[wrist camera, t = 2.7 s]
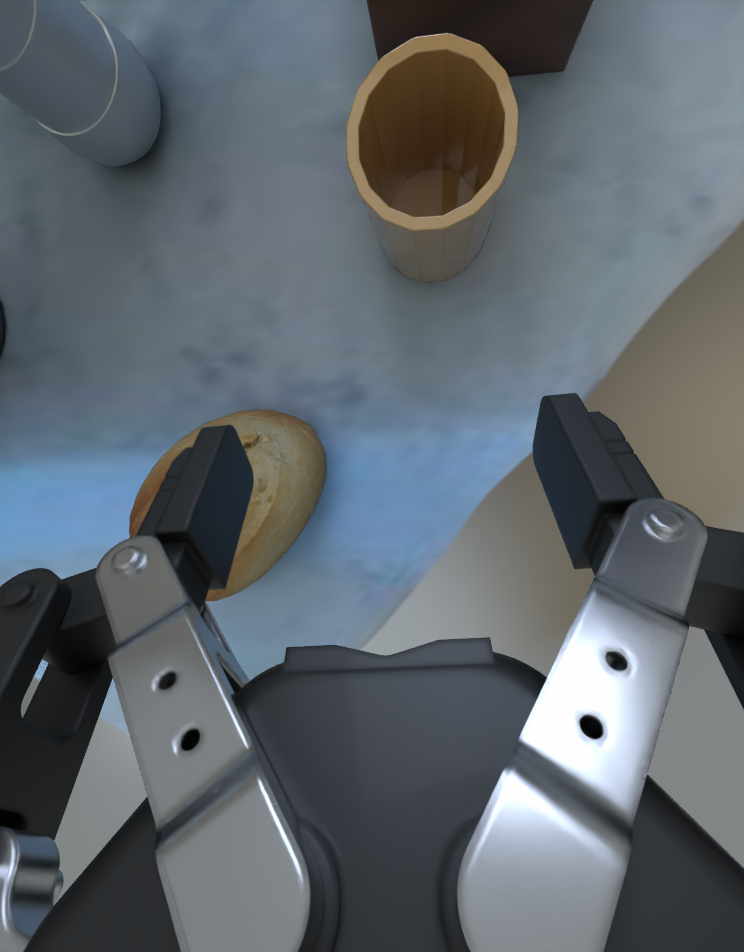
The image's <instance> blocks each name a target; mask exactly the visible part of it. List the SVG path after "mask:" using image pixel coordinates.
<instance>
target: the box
mask: <svg viewBox="0 0 744 952" xmlns="http://www.w3.org/2000/svg"><path fill="white" fill-rule="evenodd" d="M592 2H593V0H367V4H368V10H369V15H370V20H371V26H372V31H373V36H374V41H375V47H376V52H377V57H378V61H379V60H380V59H381V58H382V57H383V56H384V55H386V54H388V53H389V52H391V51H392V50H394V49H396V48H397V47H399V46H401V45H402V44H404V43H405V42H407V41H409V40H410V39H412V38H413V39H414V37H420V36H428V35H436V34H444V33H449V34H453V35H456V36H458V37H461V38H464V39H467V40H469V41H472V42H475V43H477V44H480V45H481V47H482V46H483V47H484V48H485V49H486V50H487V51H488V52H489V53H490V54H491V56H492V57H493V58H494V59H495V60H496V61H497V62H498V63H499V64H500V65H501V66H502V68H503V69H504V70H505V71H506V73H507V74H508V76H517V75H526V74H535V73H545V72H554V71H563V70H564V69H565V67H566V65H567V62H568V60H569V57H570V55H571V53H572V50H573V48H574V45H575V43H576V40H577V38H578V36H579V33H580V31H581V28H582V26H583V24H584V21H585V19H586V16H587V14H588V12H589V9H590V7H591V4H592Z"/></svg>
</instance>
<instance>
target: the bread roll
mask: <svg viewBox="0 0 744 952" xmlns="http://www.w3.org/2000/svg"><path fill="white" fill-rule="evenodd" d="M221 425H232V426H234V428H235V429H236V431H237V433H238V436H239V438H240V440H241V443H242V445H243V447H244V450H245V452H246V454H247V457H248V459H249V461H250V464H251V466H252V470H253V475H254V485H253V490H252V494H251V498H250V501H249V505H248V509H247V512H246V516H245V520H244V523H243V527H242V531H241V534H240V538H239V542H238V545H237V549H236V552H235V556H234V560H233V563H232V567H231V571H230V574H229V578H228V582H227V585H226V589H217V590H208V594H207V597H206V600H205V602H206V601H217V600H220V599H223V598H226V597H229V596H231V595H234V594H236V593H238V592H240V591H242V590H243V589H245V588H246V587H248V586H249V585H251V584H253V583H254V582H255V581H257V580H258V579H260V578H261V577H262V576H263V575H264V574H265V573H266V572H267V571H269V570H270V569H271V568H272V567H273V566H274V564H275V563H276V562H277V561H278V560H279V559H280V558H281V557H282V556H283V555H284V553H285V552H286V551H287V550H288V549H289V548H290V546H291V545H292V544H293V543H294V541H295V540H296V539H297V537H298V536H299V535H300V533H301V532H302V530H303V528H304V527H305V525H306V524H307V522H308V520H309V519H310V517H311V515H312V513H313V511H314V509H315V507H316V505H317V503H318V500H319V498H320V495H321V492H322V488H323V485H324V479H325V475H326V460H325V458H326V454H325V452H324V449H323V446H322V444H321V442H320V440H319V438H318V436H317V434H316V433H315V431H314V430H313V429H312V427H311V426H310V425H309V424H307V423H305V422H304V421H302V420H300V419H298V418H296V417H294V416H291V415H288V414H284V413H280V412H276V411H273V410H246V411H239V412H236V413H233V414H231V415H228V416H225V417H222V418H218V419H216V420H213V421H211V422H207V423H205V424H203V425H202V426H200V427H199V428H197V429H195V430H194V431H192V432H190V433H189V434H187V435H186V436H185V437H183V438H182V439H181V440H179V441H178V442H177V443H176V444H175V445H173V446H172V447H171V448H170V449H169V450H168V451H167V452H166V453H165V454H164V455H163V456H162V457H161V458H160V460H159V461H158V462H157V463H156V464H155V466H154V467H153V468H152V470H151V471H150V473H149V474H148V476H147V477H146V479H145V481H144V482H143V484H142V486H141V488H140V490H139V492H138V494H137V496H136V499H135V502H134V506H133V509H132V511H131V514H130V527H129V534H130V538H132V537H135V536H136V534H137V532H138V530H139V528H140V526H141V524H142V522H143V520H144V518H145V516H146V514H147V512H148V510H149V508H150V506H151V504H152V502H153V499H154V497H155V495H156V493H157V492H159V487H160V485H161V483H162V481H163V479H165V475H166V473H167V471H168V469H169V467H170V465H171V462H172V461H173V460H174V459H175V458H176V457H177V456H178V455H179V454H180V453H181V452H182V451H183V450H184V449H185V448H187V447H193V445H194V442H195V440H196V438H197V436H198V434H199V431H200V430H201V428H203V427H210V426H221Z"/></svg>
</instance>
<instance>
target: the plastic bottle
mask: <svg viewBox="0 0 744 952" xmlns="http://www.w3.org/2000/svg"><path fill="white" fill-rule="evenodd" d="M0 94H2V95H3V96H4V97H6V98H7V99H8V100H10V101H11V102H12V103H14V104H15V105H16V106H18V107H19V108H21V109H22V110H23V111H25V112H26V113H27V114H29V115H30V116H31V117H33V118H34V119H35V120H36V121H37V122H38V123H39V124H40V125H41V126H42V127H43V128H44V129H45V130H47V131H48V132H49V133H50V134H51V135H52V136H53V137H54V138H56V139H57V140H58V141H59V142H61V143H62V144H63V145H64V146H66V147H67V148H68V149H69V150H71V151H72V152H74V153H75V154H77V155H79V156H81V157H83V158H86V159H89V160H91V161H94V162H97V163H100V164H103V165H106V166H115V167H117V166H123V165H127V164H129V163H132V162H134V161H136V160H138V159H140V158H141V157H142V156H144V155H145V154H146V153H147V152H148V151H149V150H150V148H151V147H152V145H153V143H154V142H155V140H156V137H157V134H158V132H159V127H160V122H161V107H160V98H159V91H158V88H157V85H156V81H155V79H154V77H153V75H152V73H151V71H150V69H149V68H148V66H147V65H146V63H145V62H144V60H143V59H142V57H141V55H140V54H139V52H138V51H137V50H136V48H135V47H134V46H133V44H132V43H131V41H130V40H129V39H127V38H126V37H125V36H124V35H123V34H122V33H121V32H120V31H118V30H117V29H116V28H115V27H114V26H112V25H111V24H110V23H109V22H107V21H106V20H105V19H104V18H103V17H101V16H100V15H98V14H97V13H95V12H94V11H92V10H91V9H89V8H87V7H85V6H84V5H82V4H81V3H80V2H79V1H78V0H0Z"/></svg>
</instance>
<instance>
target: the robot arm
mask: <svg viewBox="0 0 744 952" xmlns="http://www.w3.org/2000/svg"><path fill="white" fill-rule="evenodd" d="M2 339H3V318H2V312H1V308H0V348H1V344H2ZM533 459H534V464H535V467H536V470H537V472H538V475H539V478H540V480H541V483H542V485H543V488H544V491H545V493H546V496H547V498H548V501H549V504H550V506H551V509H552V511H553V514H554V517H555V519H556V522H557V524H558V527H559V530H560V532H561V535H562V538H563V540H564V543H565V545H566V548H567V551H568V553H569V556H570V558H571V561H572V564H573V566H574V569H583V568H592V570H593V573H594V575H595V578H594V579H593V581H592V583H591V586H590V588H589V590H588V592H587V594H586V596H585V598H584V601H583V603H582V605H581V607H580V609H579V611H578V614H577V615H576V618H575V620H574V622H573V624H572V626H571V628H570V631H569V632H568V635H567V637H566V639H565V641H564V643H563V645H562V647H561V650H560V652H559V654H558V656H557V658H556V660H555V662H554V664H553V667H552V669H551V671H550V673H549V675H548V677H545V676H544V675H543V674H541V673H540V672H539V671H537V670H535V669H534V668H532V667H530V666H529V665H527V664H525V663H523V662H521V661H519V660H516V659H515V658H512V657H509V656H506V655H503V654H499V653H495V652H493V651H492V646H491V640H490V637H489V638H470V639H469V638H468V639H448V640H437V641H434V642H430V643H427V644H424V645H421V646H418V647H415V648H412V649H408V650H405V651H402V652H399V653H396V654H392V655H388V656H384V655H378V654H373V653H369V652H364V651H360V650H355V649H351V648H346V647H342V646H337V645H325V646H304V647H286V654H285V661H284V663H281V664H278V665H276V666H274V667H272V668H270V669H267V670H266V671H264V672H263V673H261V674H259V675H258V676H256V677H255V678H253V679H252V680H251V681H249V679H248V677H247V676H246V674H245V673H244V671H243V670H242V668H241V667H240V665H239V663H238V662H237V660H236V658H235V656H234V654H233V652H232V651H231V649H230V647H229V645H228V643H227V641H226V639H225V637H224V635H223V634H222V632H221V630H220V628H219V626H218V624H217V622H216V620H215V618H214V616H213V615H212V613H211V611H210V609H209V607H208V605H207V604H206V603H205V600H206V597H207V594H208V590H217V589H226V585H227V582H228V578H229V574H230V571H231V567H232V563H233V560H234V556H235V552H236V549H237V545H238V542H239V538H240V534H241V531H242V527H243V523H244V520H245V516H246V512H247V509H248V505H249V501H250V498H251V494H252V490H253V485H254V475H253V470H252V466H251V464H250V461H249V459H248V457H247V454H246V452H245V450H244V447H243V445H242V443H241V440H240V438H239V436H238V433H237V431H236V429H235V428H234V426H232V425H221V426H210V427H203V428H201V430H200V431H199V434H198V436H197V438H196V440H195V442H194V445H193V447H187V448H185V449H184V450H183V451H182V452H181V453H180V454H179V455H178V456H177V457H176V458H175V459H174V460H173V461H172V462H171V465H170V467H169V469H168V471H167V473H166V475H165V479H163V481H162V483H161V485H160V487H159V492H157V493H156V495H155V497H154V499H153V502H152V504H151V506H150V508H149V510H148V512H147V514H146V516H145V518H144V520H143V522H142V524H141V526H140V528H139V530H138V532H137V534H136V536H135V537H132V538H129V539H126V540H124V541H122V542H120V543H119V544H117V545H115V546H114V547H113V548H111V549H110V550H109V551H108V552H107V553H106V554H105V555H104V557H103V558H102V559H101V561H100V562H99V564H98V566H97V568H94V569H92V570H89V571H86V572H83V573H80V574H77V575H74V576H71V577H68V578H65V579H62V580H61V579H60V578H59V577H58V576H57V575H56V574H55V573H53V572H52V571H51V570H49V569H45V568H37V569H31V570H28V571H25V572H23V573H21V574H18V575H17V576H15V577H13V578H12V579H10V580H8V581H7V582H6V583H4V584H3V585H2V586H1V587H0V952H744V868H743V867H742V866H741V865H740V864H739V863H738V862H737V861H736V860H735V859H734V858H733V857H732V856H731V855H730V854H729V853H728V852H727V851H726V850H725V849H724V848H723V847H722V846H721V845H720V844H719V843H718V842H717V841H715V840H714V839H713V838H712V837H711V836H710V835H709V834H708V833H707V832H706V831H705V830H704V829H703V828H702V827H701V826H700V825H699V824H698V823H697V822H696V821H695V820H694V819H693V818H692V817H691V816H690V815H689V814H687V812H686V811H685V810H684V809H683V808H681V807H680V806H679V805H678V804H677V803H676V802H675V801H674V800H673V799H672V798H671V797H670V796H669V795H668V794H667V793H666V792H665V791H664V790H663V789H662V788H661V787H660V786H659V785H658V784H657V783H656V782H655V781H654V780H653V779H652V778H651V777H650V776H649V775H647V773H648V769H649V766H650V763H651V759H652V755H653V752H654V749H655V745H656V742H657V738H658V734H659V732H660V728H661V725H662V721H663V717H664V714H665V711H666V707H667V704H668V700H669V697H670V694H671V690H672V687H673V683H674V679H675V676H676V673H677V669H678V666H679V663H680V659H681V656H682V652H683V649H684V645H685V642H686V638H687V635H688V630H689V626H692V627H697V628H701V629H704V630H705V632H706V634H707V636H708V638H709V640H710V642H711V644H712V646H713V648H714V650H715V652H716V654H717V656H718V658H719V660H720V662H721V664H722V667H723V668H724V671H725V673H726V675H727V676H728V679H729V681H730V683H731V685H732V687H733V689H734V691H735V692H736V695H737V697H738V699H739V701H740V703H741V705H742V707H743V709H744V533H742V532H736V531H730V530H724V529H718V528H713V527H708V526H705V525H704V523H703V522H702V521H701V519H700V518H699V517H698V516H697V515H696V514H695V513H693V512H692V511H691V510H689V509H688V508H686V507H684V506H682V505H680V504H677V503H675V502H672V501H669V500H665V499H664V498H663V496H662V494H661V493H660V491H659V490H658V488H657V487H656V485H655V484H654V482H653V480H652V479H651V477H650V476H649V474H648V473H647V471H646V469H645V468H644V467H643V465H642V463H641V462H640V460H639V459H638V457H637V455H636V454H634V453H633V449H632V448H631V446H630V445H629V443H628V442H626V440H625V437H624V435H623V434H622V432H621V431H620V429H619V428H618V426H617V424H616V423H614V422H613V421H612V420H610V419H609V418H608V417H606V416H605V415H603V414H602V413H601V412H599V411H597V412H588V411H587V409H586V407H585V406H584V404H583V402H582V401H581V399H580V397H579V396H578V395H577V394H576V393H571V394H560V395H549V396H544V397H543V398H542V400H541V403H540V408H539V414H538V419H537V425H536V430H535V435H534V441H533ZM42 659H43V660H45V661H46V662H48V663H49V664H48V666H47V668H46V670H45V672H44V674H43V676H42V679H41V681H40V683H39V685H38V687H37V689H36V692H35V693H34V696H33V698H32V700H31V702H30V704H29V706H28V708H27V710H26V713H25V715H24V717H23V719H22V716H21V704H22V700H23V698H24V695H25V693H26V691H27V689H28V687H29V685H30V683H31V681H32V679H33V677H34V675H35V673H36V671H37V669H38V667H39V664H40V662H41V660H42ZM112 678H113V679H114V683H115V686H116V690H117V693H118V696H119V700H120V703H121V707H122V710H123V714H124V717H125V720H126V724H127V727H128V731H129V734H130V738H131V741H132V744H133V748H134V751H135V755H136V758H137V762H138V765H139V769H140V772H141V775H142V779H143V782H144V786H145V789H146V793H147V798H146V799H145V800H144V801H143V802H142V803H141V805H140V806H139V807H138V808H137V809H136V810H135V812H134V813H133V814H132V815H131V816H130V817H129V819H128V820H127V821H126V822H125V823H124V825H123V826H122V827H121V828H120V829H119V830H118V832H117V833H116V834H115V835H114V836H113V837H112V838H111V840H110V841H109V842H108V843H107V844H106V845H105V847H104V848H103V849H102V850H101V851H100V853H99V854H98V855H97V856H96V857H95V858H94V859H93V861H92V862H91V863H90V864H89V865H88V867H87V868H86V869H85V870H84V871H83V872H82V874H81V875H80V876H79V877H78V878H77V879H76V881H75V882H74V883H73V884H72V885H71V886H70V888H69V889H68V890H67V891H66V892H65V893H64V895H63V896H62V897H61V898H60V899H59V900H58V902H57V903H56V904H55V905H54V906H53V904H54V903H55V901H56V900H57V898H58V897H59V895H60V892H61V890H62V887H63V874H62V872H61V871H60V870H59V864H60V858H59V851H58V848H57V846H56V843H55V842H54V840H55V837H56V834H57V831H58V828H59V825H60V823H61V820H62V817H63V815H64V812H65V809H66V806H67V803H68V801H69V798H70V795H71V792H72V789H73V787H74V784H75V781H76V778H77V775H78V773H79V770H80V767H81V764H82V762H83V759H84V756H85V753H86V750H87V748H88V745H89V742H90V739H91V737H92V734H93V731H94V728H95V725H96V723H97V720H98V717H99V714H100V712H101V709H102V706H103V703H104V700H105V698H106V695H107V692H108V689H109V686H110V684H111V681H112Z"/></svg>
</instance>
